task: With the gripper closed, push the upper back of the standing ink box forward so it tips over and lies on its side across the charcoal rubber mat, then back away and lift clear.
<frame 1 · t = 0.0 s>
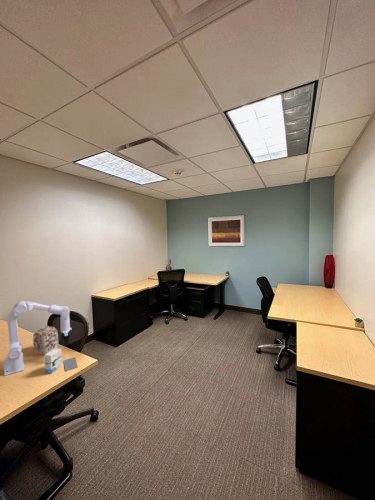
hand: (65, 341, 147), 10 cm above the table, fingers open, 7 cm apart
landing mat: (70, 364, 137), on the table
ink box: (53, 369, 131), on the table
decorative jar: (46, 350, 155), on the table
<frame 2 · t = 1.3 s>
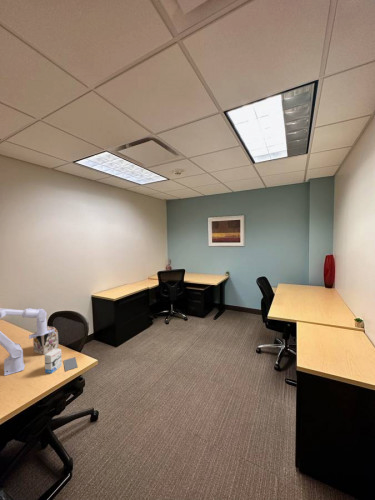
hand: (43, 345, 141), 10 cm above the table, fingers closed
nothing on the table moved.
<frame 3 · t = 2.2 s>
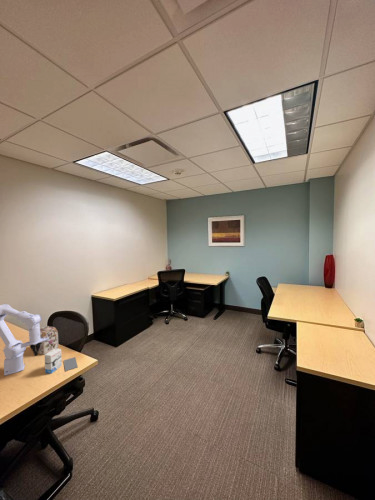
hand: (36, 355, 129), 10 cm above the table, fingers closed
nothing on the table moved.
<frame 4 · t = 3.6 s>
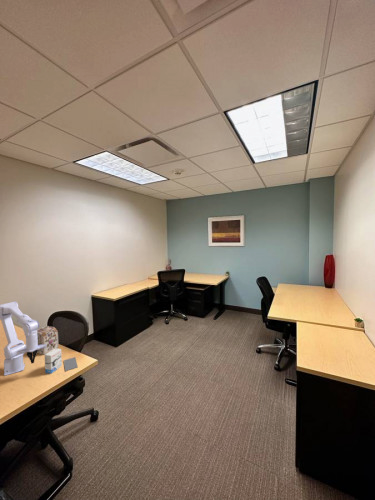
hand: (32, 362, 125), 8 cm above the table, fingers closed
nothing on the table moved.
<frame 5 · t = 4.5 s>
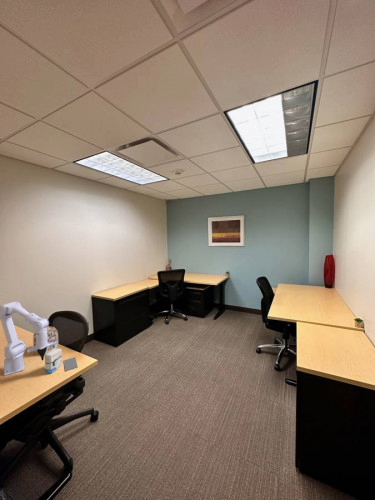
hand: (42, 359, 127), 9 cm above the table, fingers closed, pressing on ink box
ink box: (53, 369, 131), on the table, touching gripper
everything else where it was.
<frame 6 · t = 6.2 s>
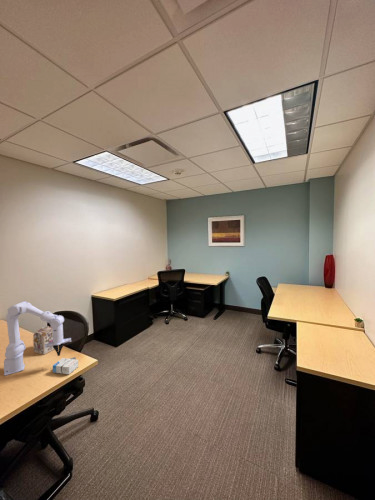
hand: (58, 355, 132), 8 cm above the table, fingers closed
ink box: (57, 364, 131), point 3 cm above the table, touching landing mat
everything else where it was.
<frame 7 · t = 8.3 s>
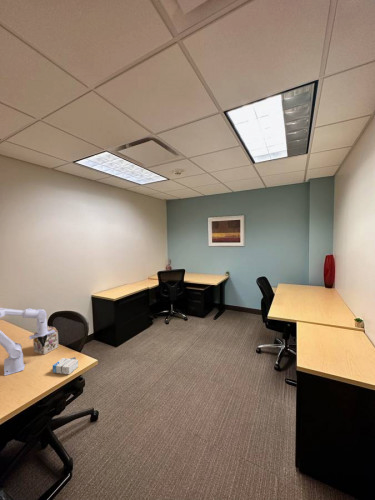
hand: (43, 346, 140), 10 cm above the table, fingers closed
nothing on the table moved.
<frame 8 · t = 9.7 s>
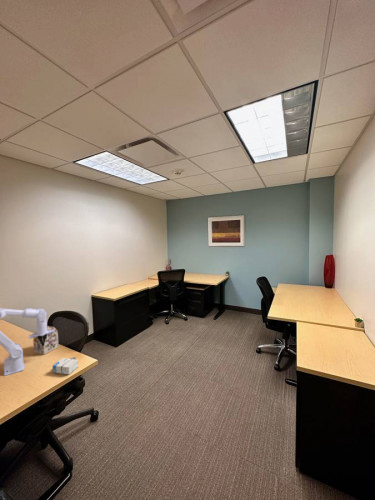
hand: (43, 345, 141), 10 cm above the table, fingers closed
nothing on the table moved.
at the end: ink box tilted 90°; ink box inside the target area (2.4 cm from its centre), point 2.9 cm above the table; ink box touching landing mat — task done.
